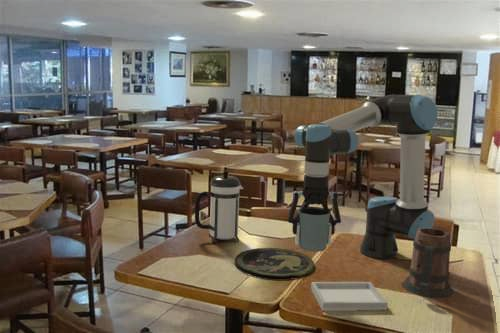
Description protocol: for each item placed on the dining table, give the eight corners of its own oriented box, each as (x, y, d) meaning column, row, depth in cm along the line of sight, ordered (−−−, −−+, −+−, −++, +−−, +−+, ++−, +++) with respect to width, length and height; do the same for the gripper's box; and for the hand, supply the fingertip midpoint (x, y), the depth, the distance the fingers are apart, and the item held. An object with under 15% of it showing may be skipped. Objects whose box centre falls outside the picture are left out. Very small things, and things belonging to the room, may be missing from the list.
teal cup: (329, 253, 153) (332, 215, 151) (296, 252, 154) (298, 214, 151) (326, 242, 163) (328, 207, 161) (295, 241, 164) (296, 206, 161)
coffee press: (219, 231, 225) (221, 165, 220) (247, 238, 216) (250, 170, 211) (193, 240, 211) (194, 170, 206) (222, 248, 202) (224, 176, 197)
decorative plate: (226, 270, 175) (243, 243, 204) (225, 275, 175) (243, 248, 204) (311, 280, 169) (317, 251, 198) (311, 285, 170) (317, 256, 199)
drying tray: (369, 288, 167) (370, 281, 167) (386, 310, 151) (387, 302, 151) (311, 289, 165) (311, 281, 165) (322, 311, 149) (323, 303, 149)
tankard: (405, 274, 181) (410, 221, 178) (455, 284, 174) (461, 229, 171) (395, 299, 160) (400, 239, 157) (451, 310, 153) (458, 248, 150)
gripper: (348, 172, 159) (343, 240, 163) (279, 171, 157) (276, 239, 161) (354, 177, 151) (349, 248, 155) (282, 176, 150) (279, 247, 154)
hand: (312, 243), depth 158 cm, fingers closed on teal cup, 9 cm apart
